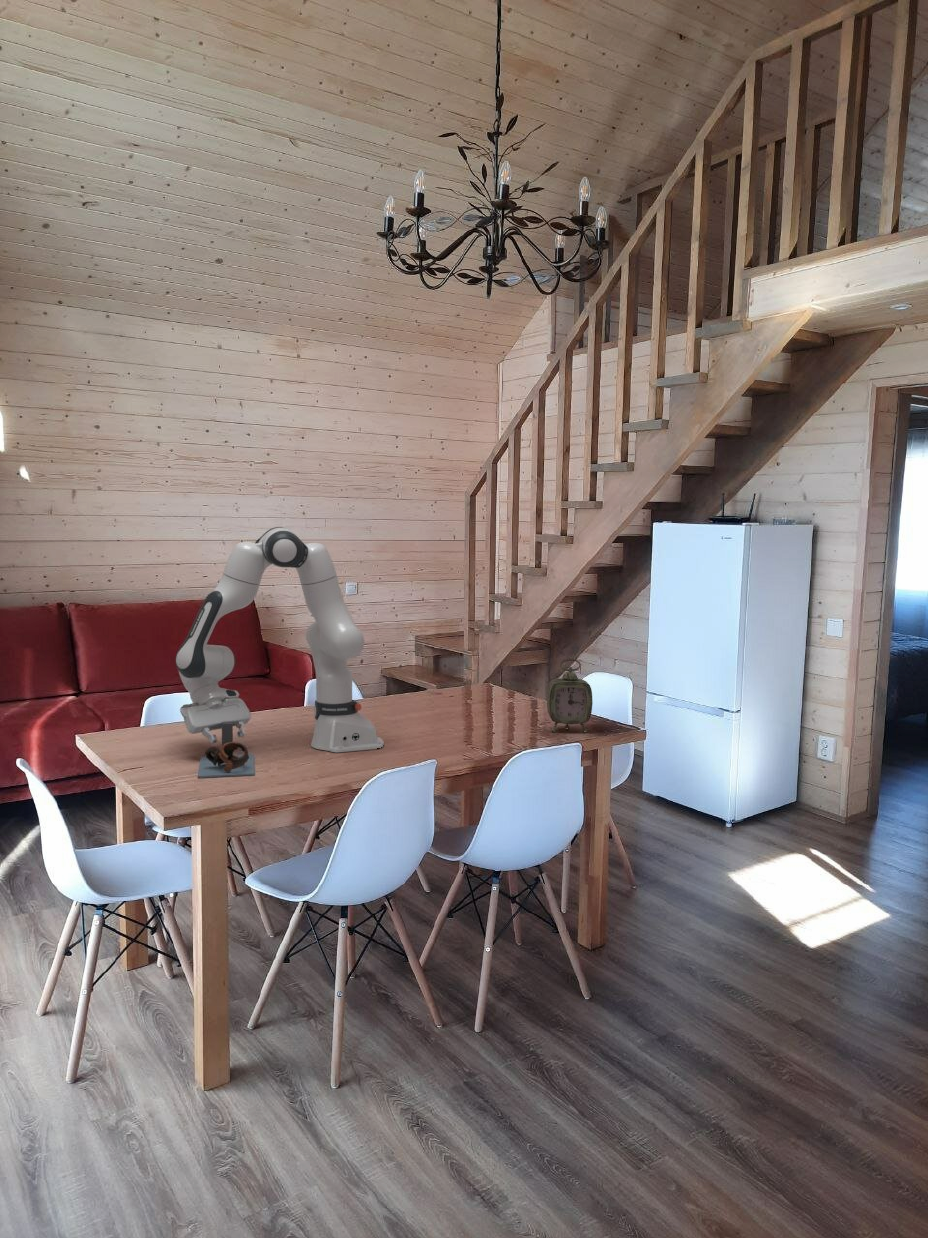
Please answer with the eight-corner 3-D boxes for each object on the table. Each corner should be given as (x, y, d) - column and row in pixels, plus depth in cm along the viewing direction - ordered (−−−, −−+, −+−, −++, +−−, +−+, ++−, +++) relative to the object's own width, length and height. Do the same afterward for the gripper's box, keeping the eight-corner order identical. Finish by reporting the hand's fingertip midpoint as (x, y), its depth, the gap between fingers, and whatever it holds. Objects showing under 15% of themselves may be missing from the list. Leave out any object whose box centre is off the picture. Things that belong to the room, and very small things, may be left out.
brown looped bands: (247, 763, 257) (253, 742, 253) (241, 786, 249) (247, 765, 245) (205, 754, 254) (210, 732, 250) (198, 777, 246) (203, 755, 242)
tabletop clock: (548, 734, 301) (550, 660, 299) (545, 727, 310) (547, 656, 308) (591, 734, 302) (594, 660, 299) (586, 728, 311) (589, 656, 308)
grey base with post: (253, 755, 266) (253, 720, 265) (254, 775, 246) (254, 737, 245) (201, 757, 262) (200, 722, 261) (197, 778, 242) (197, 739, 241)
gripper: (181, 699, 258) (201, 738, 252) (242, 690, 273) (261, 727, 268) (173, 712, 261) (192, 751, 256) (233, 702, 276) (252, 739, 271)
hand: (228, 738), depth 262 cm, fingers open, 8 cm apart
